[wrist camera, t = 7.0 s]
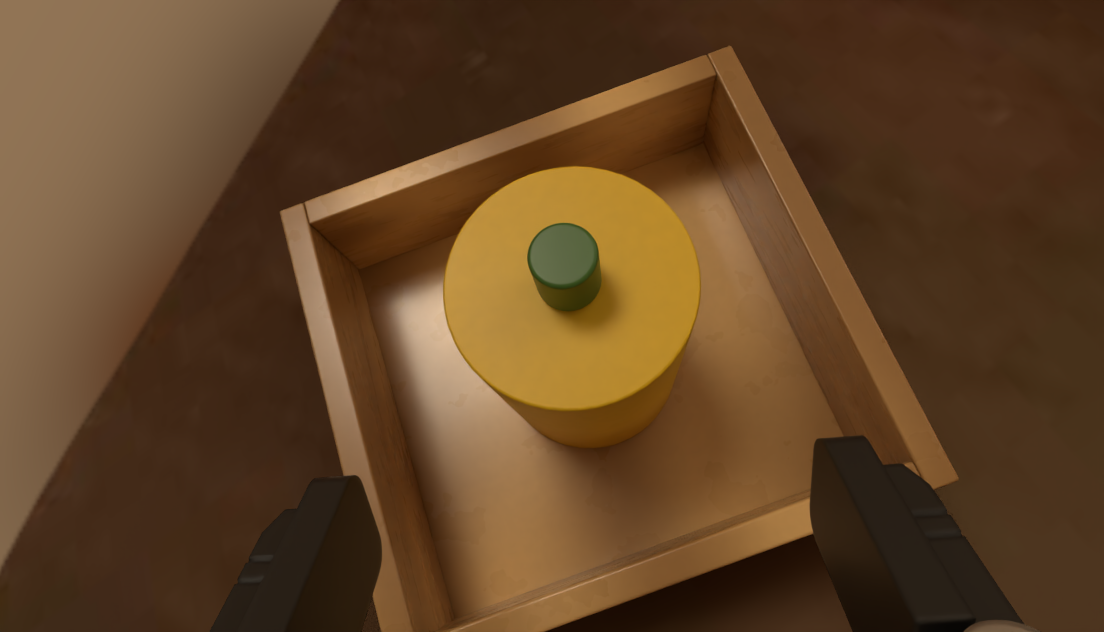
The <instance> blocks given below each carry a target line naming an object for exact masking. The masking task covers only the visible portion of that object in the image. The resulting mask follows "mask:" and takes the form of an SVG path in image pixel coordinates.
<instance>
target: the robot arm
mask: <svg viewBox="0 0 1104 632" xmlns="http://www.w3.org/2000/svg"><path fill="white" fill-rule="evenodd" d="M810 519H811V525H812V530H813V534H814V538H815V541H816V543H817V546H818V548H819V551H820V553H821V556H822V558H823V560H824V563H825V565H826V568H827V570H828V573H829V575H830V577H831V580H832V582H833V585H834V587H835V589H836V592H837V594H838V597H839V599H840V602H841V604H842V606H843V609H844V611H845V614H846V616H847V619H848V621H849V623H850V626H851V628H852V631H853V632H1041V631H1039V630H1037V629H1034V628H1032V627H1030V626H1027V625H1025V624H1024V623H1023V622H1022V620H1021V619H1020V618H1019V616H1018V615H1017V613H1016V612H1015V610H1014V609H1013V607H1012V606H1011V604H1010V603H1009V601H1008V600H1007V598H1006V597H1005V595H1004V594H1003V592H1002V591H1001V590H1000V588H999V587H998V585H997V584H996V582H995V581H994V579H993V578H992V576H991V575H990V573H989V572H988V570H987V569H986V567H985V566H984V564H983V563H982V561H981V560H980V558H979V557H978V555H977V554H976V552H975V551H974V549H973V548H972V546H971V545H970V543H969V542H968V540H967V539H966V537H965V536H962V534H961V530H960V528H959V527H958V526H957V524H956V523H955V521H954V520H953V518H952V517H951V515H948V514H947V509H946V508H945V506H944V505H943V503H942V502H941V500H940V499H939V497H938V496H937V494H936V493H935V491H934V490H933V488H932V487H931V485H930V484H929V483H928V482H926V481H925V480H924V479H922V478H921V477H920V476H918V475H917V474H916V473H914V472H913V471H912V470H910V469H909V468H908V467H906V466H905V465H904V464H902V463H898V464H886V465H883V464H882V462H881V460H880V459H879V457H878V455H877V454H876V452H875V450H874V449H873V447H872V446H871V444H870V442H869V441H868V439H867V438H866V437H865V436H863V435H855V436H843V437H830V438H818V439H816V441H815V443H814V449H813V463H812V477H811V491H810ZM381 562H382V543H381V537H380V533H379V530H378V527H377V524H376V521H375V519H374V516H373V513H372V510H371V507H370V504H369V501H368V498H367V495H366V492H365V489H364V486H363V483H362V481H361V479H360V478H359V477H358V476H357V475H347V476H335V477H322V478H315V479H313V480H312V481H311V482H310V484H309V486H308V488H307V490H306V492H305V494H304V496H303V498H302V500H301V502H300V504H299V506H298V508H297V509H288V510H284V511H283V512H282V513H281V514H280V515H279V516H278V517H277V518H276V519H275V520H274V521H273V522H272V523H271V524H270V525H269V526H268V527H267V528H266V529H265V530H264V531H263V532H262V534H261V536H260V538H259V540H258V542H257V544H256V545H255V547H254V549H253V551H252V553H251V555H250V557H249V563H246V564H245V566H244V568H243V570H242V572H241V574H240V575H239V577H238V583H237V584H235V585H234V587H233V589H232V590H231V592H230V594H229V596H228V598H227V600H226V602H225V604H224V605H223V607H222V609H221V611H220V613H219V615H218V617H217V619H216V620H215V622H214V624H213V626H212V628H211V630H210V632H361V631H362V627H363V624H364V621H365V618H366V615H367V611H368V608H369V605H370V602H371V598H372V595H373V592H374V589H375V586H376V582H377V579H378V576H379V573H380V569H381Z"/></svg>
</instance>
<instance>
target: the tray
mask: <svg viewBox="0 0 1104 632" xmlns="http://www.w3.org/2000/svg"><path fill="white" fill-rule="evenodd" d="M572 166H579V167H593V168H599V169H604V170H609V171H612V172H615V173H618V174H622V175H624V176H626V177H628V178H631V179H633V180H635V181H637V182H639V183H640V184H642V185H644V186H645V187H647V188H649V189H650V190H652V191H653V192H654V193H655V194H657V195H658V196H659V197H660V198H662V199H663V200H664V201H665V202H666V203H667V204H668V205H669V206H670V208H671V209H672V210H673V211H674V212H675V213H676V215H677V216H678V217H679V219H680V220H681V221H682V223H683V224H684V226H685V228H686V230H687V232H688V234H689V235H690V237H691V240H692V242H693V245H694V248H695V250H696V253H697V258H698V262H699V267H700V276H701V296H700V305H699V309H698V314H697V318H696V321H695V324H694V327H693V330H692V333H691V335H690V338H689V341H688V344H687V347H686V350H685V353H684V355H683V358H682V361H681V364H680V367H679V370H678V372H677V375H676V378H675V381H674V384H673V387H672V389H671V392H670V395H669V398H668V399H667V401H666V403H665V405H664V407H663V409H662V410H661V411H660V413H659V414H658V416H657V417H656V418H655V419H654V420H653V421H652V422H651V423H650V424H649V425H648V426H647V427H646V428H645V429H643V430H642V431H641V432H640V433H638V434H636V435H635V436H633V437H632V438H630V439H628V440H625V441H623V442H621V443H618V444H615V445H611V446H607V447H601V448H578V447H572V446H568V445H564V444H561V443H558V442H556V441H553V440H551V439H549V438H548V437H546V436H544V435H542V434H541V433H540V432H538V431H537V430H536V429H534V428H533V427H532V426H531V425H530V424H529V423H528V422H527V421H526V420H525V419H523V418H522V417H521V416H520V415H519V414H518V413H517V412H516V411H515V410H514V409H513V408H512V407H511V406H510V405H509V404H508V403H506V402H505V401H504V400H503V399H502V398H501V397H500V396H499V395H498V394H497V393H496V392H495V391H494V390H493V389H492V388H491V387H489V386H488V385H487V384H486V383H485V382H484V381H483V380H482V379H481V378H480V377H479V376H478V375H477V374H476V373H475V372H474V371H473V370H472V369H471V368H470V366H469V365H468V364H467V362H466V361H465V360H464V358H463V357H462V356H461V354H460V352H459V350H458V348H457V347H456V345H455V343H454V341H453V338H452V336H451V333H450V331H449V328H448V325H447V321H446V316H445V312H444V302H443V280H444V275H445V269H446V264H447V261H448V257H449V254H450V251H451V249H452V246H453V244H454V242H455V240H456V238H457V236H458V234H459V232H460V231H461V229H462V227H463V226H464V224H465V223H466V221H467V220H468V219H469V218H470V216H471V215H472V214H473V213H474V211H475V210H476V209H477V208H478V207H479V206H480V205H481V204H482V203H483V202H484V201H485V200H486V199H488V198H489V197H490V196H491V195H493V194H494V193H495V192H497V191H498V190H499V189H501V188H503V187H504V186H506V185H508V184H510V183H511V182H513V181H515V180H517V179H520V178H522V177H524V176H527V175H529V174H532V173H536V172H539V171H542V170H547V169H552V168H558V167H572ZM280 216H281V220H282V224H283V228H284V232H285V236H286V240H287V245H288V249H289V253H290V257H291V261H292V265H293V269H294V274H295V278H296V282H297V286H298V290H299V294H300V298H301V302H302V307H303V311H304V315H305V319H306V323H307V327H308V331H309V336H310V340H311V344H312V348H313V352H314V356H315V360H316V364H317V369H318V373H319V377H320V381H321V385H322V389H323V393H324V397H325V402H326V406H327V410H328V414H329V418H330V422H331V426H332V431H333V435H334V439H335V443H336V447H337V451H338V455H339V459H340V464H341V468H342V472H343V476H347V475H357V476H358V477H359V478H360V479H361V481H362V483H363V486H364V489H365V492H366V495H367V498H368V501H369V504H370V507H371V510H372V513H373V516H374V519H375V521H376V524H377V527H378V530H379V533H380V537H381V543H382V562H381V569H380V573H379V576H378V579H377V582H376V586H375V589H374V592H373V595H372V596H373V600H374V604H375V608H376V612H377V616H378V621H379V625H380V629H381V632H546V631H548V630H551V629H554V628H557V627H559V626H562V625H565V624H567V623H570V622H573V621H576V620H578V619H581V618H584V617H587V616H589V615H592V614H595V613H598V612H600V611H603V610H606V609H609V608H611V607H614V606H617V605H619V604H622V603H625V602H628V601H630V600H633V599H636V598H639V597H641V596H644V595H647V594H650V593H652V592H655V591H658V590H661V589H663V588H666V587H669V586H672V585H674V584H677V583H680V582H682V581H685V580H688V579H691V578H693V577H696V576H699V575H702V574H704V573H707V572H710V571H713V570H715V569H718V568H721V567H724V566H726V565H729V564H732V563H735V562H737V561H740V560H743V559H745V558H748V557H751V556H754V555H756V554H759V553H762V552H765V551H767V550H770V549H773V548H776V547H778V546H781V545H784V544H787V543H789V542H792V541H795V540H797V539H800V538H803V537H806V536H808V535H811V534H813V530H812V525H811V519H810V491H811V477H812V463H813V449H814V443H815V441H816V439H818V438H830V437H843V436H855V435H863V436H865V437H866V438H867V439H868V441H869V442H870V444H871V446H872V447H873V449H874V450H875V452H876V454H877V455H878V457H879V459H880V460H881V462H882V464H883V465H886V464H898V463H902V464H904V465H905V466H906V467H908V468H909V469H910V470H912V471H913V472H914V473H916V474H917V475H918V476H920V477H921V478H922V479H924V480H925V481H926V482H928V483H929V484H930V485H931V487H932V488H933V490H935V489H937V488H940V487H943V486H946V485H948V484H951V483H954V482H957V481H958V480H959V479H958V476H957V474H956V472H955V470H954V469H953V467H952V465H951V463H950V461H949V459H948V457H947V455H946V453H945V451H944V450H943V448H942V446H941V444H940V442H939V440H938V438H937V436H936V434H935V432H934V431H933V429H932V427H931V425H930V423H929V421H928V419H927V417H926V415H925V413H924V412H923V410H922V408H921V406H920V404H919V402H918V400H917V398H916V396H915V394H914V392H913V391H912V389H911V387H910V385H909V383H908V381H907V379H906V377H905V375H904V373H903V372H902V370H901V368H900V366H899V364H898V362H897V360H896V358H895V356H894V354H893V353H892V351H891V349H890V347H889V345H888V343H887V341H886V339H885V337H884V335H883V334H882V332H881V330H880V328H879V326H878V324H877V322H876V320H875V318H874V316H873V315H872V313H871V311H870V309H869V307H868V305H867V303H866V301H865V299H864V297H863V296H862V294H861V292H860V290H859V288H858V286H857V284H856V282H855V280H854V278H853V277H852V275H851V273H850V271H849V269H848V267H847V265H846V263H845V261H844V259H843V258H842V256H841V254H840V252H839V250H838V248H837V246H836V244H835V242H834V240H833V239H832V237H831V235H830V233H829V231H828V229H827V227H826V225H825V223H824V221H823V219H822V218H821V216H820V214H819V212H818V210H817V208H816V206H815V204H814V202H813V200H812V199H811V197H810V195H809V193H808V191H807V189H806V187H805V185H804V183H803V181H802V180H801V178H800V176H799V174H798V172H797V170H796V168H795V166H794V164H793V162H792V161H791V159H790V157H789V155H788V153H787V151H786V149H785V147H784V145H783V143H782V142H781V140H780V138H779V136H778V134H777V132H776V130H775V128H774V126H773V124H772V123H771V121H770V119H769V117H768V115H767V113H766V111H765V109H764V107H763V105H762V104H761V102H760V100H759V98H758V96H757V94H756V92H755V90H754V88H753V86H752V85H751V83H750V81H749V79H748V77H747V75H746V73H745V71H744V69H743V67H742V66H741V64H740V62H739V60H738V58H737V56H736V54H735V52H734V50H733V48H732V47H731V46H728V47H725V48H723V49H720V50H717V51H714V52H712V53H709V54H708V55H703V56H700V57H698V58H695V59H692V60H690V61H687V62H684V63H681V64H679V65H676V66H673V67H671V68H668V69H665V70H662V71H660V72H657V73H654V74H651V75H649V76H646V77H643V78H641V79H638V80H635V81H632V82H630V83H627V84H624V85H622V86H619V87H616V88H613V89H611V90H608V91H605V92H602V93H600V94H597V95H594V96H592V97H589V98H586V99H583V100H581V101H578V102H575V103H573V104H570V105H567V106H564V107H562V108H559V109H556V110H553V111H551V112H548V113H545V114H543V115H540V116H537V117H534V118H532V119H529V120H526V121H523V122H521V123H518V124H515V125H513V126H510V127H507V128H504V129H502V130H499V131H496V132H494V133H491V134H488V135H485V136H483V137H480V138H477V139H474V140H472V141H469V142H466V143H464V144H461V145H458V146H455V147H453V148H450V149H447V150H445V151H442V152H439V153H436V154H434V155H431V156H428V157H425V158H423V159H420V160H417V161H415V162H412V163H409V164H406V165H404V166H401V167H398V168H395V169H393V170H390V171H387V172H385V173H382V174H379V175H376V176H374V177H371V178H368V179H366V180H363V181H360V182H357V183H355V184H352V185H349V186H346V187H344V188H341V189H338V190H336V191H333V192H330V193H327V194H325V195H322V196H319V197H317V198H314V199H311V200H308V201H306V202H304V203H301V204H298V205H295V206H293V207H290V208H287V209H284V210H282V211H280Z"/></svg>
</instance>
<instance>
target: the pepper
mask: <svg viewBox="0 0 1104 632" xmlns="http://www.w3.org/2000/svg"><path fill="white" fill-rule="evenodd" d="M700 296H701V276H700V267H699V262H698V258H697V253H696V250H695V248H694V245H693V242H692V240H691V237H690V235H689V234H688V232H687V230H686V228H685V226H684V224H683V223H682V221H681V220H680V219H679V217H678V216H677V215H676V213H675V212H674V211H673V210H672V209H671V208H670V206H669V205H668V204H667V203H666V202H665V201H664V200H663V199H662V198H660V197H659V196H658V195H657V194H655V193H654V192H653V191H652V190H650V189H649V188H647V187H645V186H644V185H642V184H640V183H639V182H637V181H635V180H633V179H631V178H628V177H626V176H624V175H622V174H618V173H615V172H612V171H609V170H604V169H599V168H593V167H579V166H572V167H558V168H552V169H547V170H542V171H539V172H536V173H532V174H529V175H527V176H524V177H522V178H520V179H517V180H515V181H513V182H511V183H510V184H508V185H506V186H504V187H503V188H501V189H499V190H498V191H497V192H495V193H494V194H493V195H491V196H490V197H489V198H488V199H486V200H485V201H484V202H483V203H482V204H481V205H480V206H479V207H478V208H477V209H476V210H475V211H474V213H473V214H472V215H471V216H470V218H469V219H468V220H467V221H466V223H465V224H464V226H463V227H462V229H461V231H460V232H459V234H458V236H457V238H456V240H455V242H454V244H453V246H452V249H451V251H450V254H449V257H448V261H447V264H446V269H445V275H444V280H443V302H444V312H445V316H446V321H447V325H448V328H449V331H450V333H451V336H452V338H453V341H454V343H455V345H456V347H457V348H458V350H459V352H460V354H461V356H462V357H463V358H464V360H465V361H466V362H467V364H468V365H469V366H470V368H471V369H472V370H473V371H474V372H475V373H476V374H477V375H478V376H479V377H480V378H481V379H482V380H483V381H484V382H485V383H486V384H487V385H488V386H489V387H491V388H492V389H493V390H494V391H495V392H496V393H497V394H498V395H499V396H500V397H501V398H502V399H503V400H504V401H505V402H506V403H508V404H509V405H510V406H511V407H512V408H513V409H514V410H515V411H516V412H517V413H518V414H519V415H520V416H521V417H522V418H523V419H525V420H526V421H527V422H528V423H529V424H530V425H531V426H532V427H533V428H534V429H536V430H537V431H538V432H540V433H541V434H542V435H544V436H546V437H548V438H549V439H551V440H553V441H556V442H558V443H561V444H564V445H568V446H572V447H578V448H601V447H607V446H611V445H615V444H618V443H621V442H623V441H625V440H628V439H630V438H632V437H633V436H635V435H636V434H638V433H640V432H641V431H642V430H643V429H645V428H646V427H647V426H648V425H649V424H650V423H651V422H652V421H653V420H654V419H655V418H656V417H657V416H658V414H659V413H660V411H661V410H662V409H663V407H664V405H665V403H666V401H667V399H668V398H669V395H670V392H671V389H672V387H673V384H674V381H675V378H676V375H677V372H678V370H679V367H680V364H681V361H682V358H683V355H684V353H685V350H686V347H687V344H688V341H689V338H690V335H691V333H692V330H693V327H694V324H695V321H696V318H697V314H698V309H699V305H700Z"/></svg>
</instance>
